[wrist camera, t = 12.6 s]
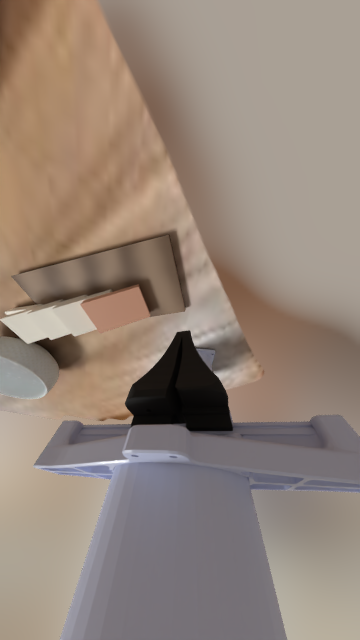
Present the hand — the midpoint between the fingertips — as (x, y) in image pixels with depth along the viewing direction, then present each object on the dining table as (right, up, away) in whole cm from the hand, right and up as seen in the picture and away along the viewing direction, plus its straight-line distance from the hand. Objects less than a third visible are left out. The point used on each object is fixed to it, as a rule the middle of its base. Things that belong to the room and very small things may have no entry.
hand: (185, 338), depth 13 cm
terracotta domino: (-6, +5, +7) cm, 10 cm away
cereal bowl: (-36, -6, +19) cm, 41 cm away
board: (-13, +7, +8) cm, 17 cm away
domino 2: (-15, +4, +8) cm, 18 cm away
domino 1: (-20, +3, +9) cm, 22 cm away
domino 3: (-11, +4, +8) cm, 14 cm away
